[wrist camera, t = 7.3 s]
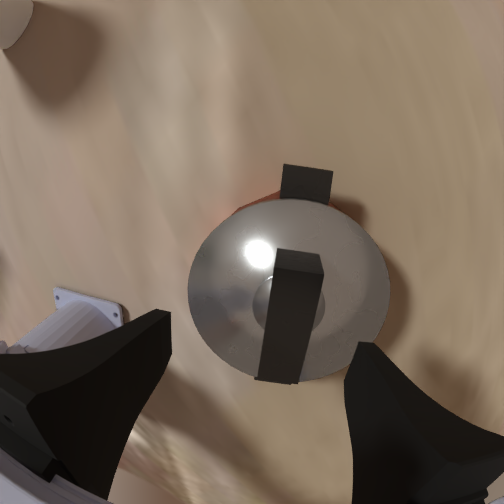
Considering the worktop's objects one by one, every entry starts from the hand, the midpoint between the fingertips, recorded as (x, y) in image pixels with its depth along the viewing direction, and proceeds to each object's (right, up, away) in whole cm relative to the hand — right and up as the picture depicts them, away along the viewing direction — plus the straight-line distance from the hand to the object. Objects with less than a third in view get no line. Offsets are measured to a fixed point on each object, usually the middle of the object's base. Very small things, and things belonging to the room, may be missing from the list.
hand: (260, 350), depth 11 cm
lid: (+2, +1, +6) cm, 7 cm away
